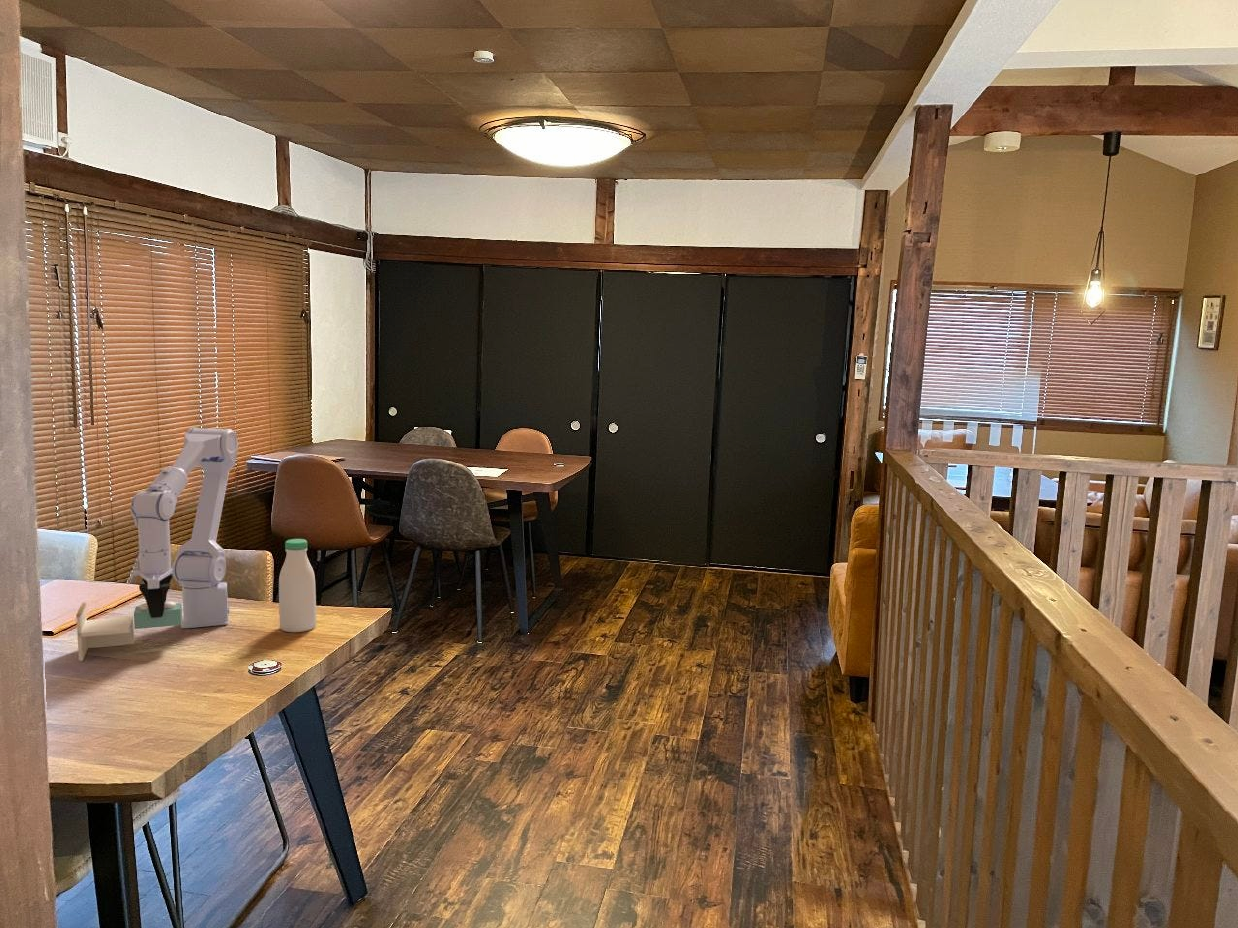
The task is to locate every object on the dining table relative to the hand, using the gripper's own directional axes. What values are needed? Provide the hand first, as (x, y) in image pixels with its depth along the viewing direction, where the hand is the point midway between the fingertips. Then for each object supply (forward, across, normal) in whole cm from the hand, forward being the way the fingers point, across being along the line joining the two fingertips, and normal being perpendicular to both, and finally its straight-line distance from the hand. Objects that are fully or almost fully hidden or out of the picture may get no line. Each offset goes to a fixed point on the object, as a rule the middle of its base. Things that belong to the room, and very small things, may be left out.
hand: (157, 613), depth 186 cm
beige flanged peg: (+7, 0, -10) cm, 12 cm away
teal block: (+2, 0, 0) cm, 2 cm away
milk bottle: (+8, -4, +28) cm, 29 cm away
